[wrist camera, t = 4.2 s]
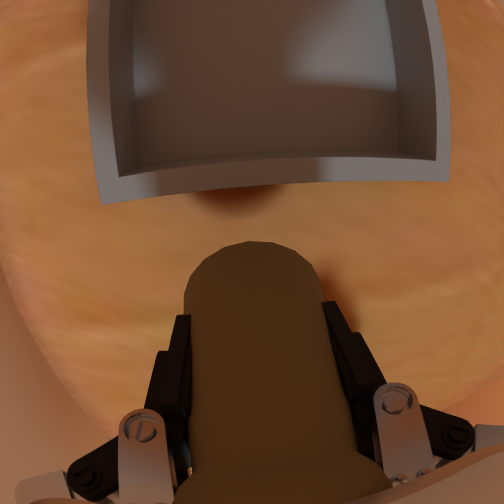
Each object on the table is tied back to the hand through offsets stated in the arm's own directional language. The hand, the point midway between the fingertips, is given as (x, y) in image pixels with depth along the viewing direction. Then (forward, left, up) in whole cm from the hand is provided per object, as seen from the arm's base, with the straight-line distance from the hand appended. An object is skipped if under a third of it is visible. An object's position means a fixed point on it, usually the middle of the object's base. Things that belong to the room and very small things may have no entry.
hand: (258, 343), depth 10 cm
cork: (0, 0, -3) cm, 3 cm away
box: (-2, -13, -8) cm, 15 cm away
